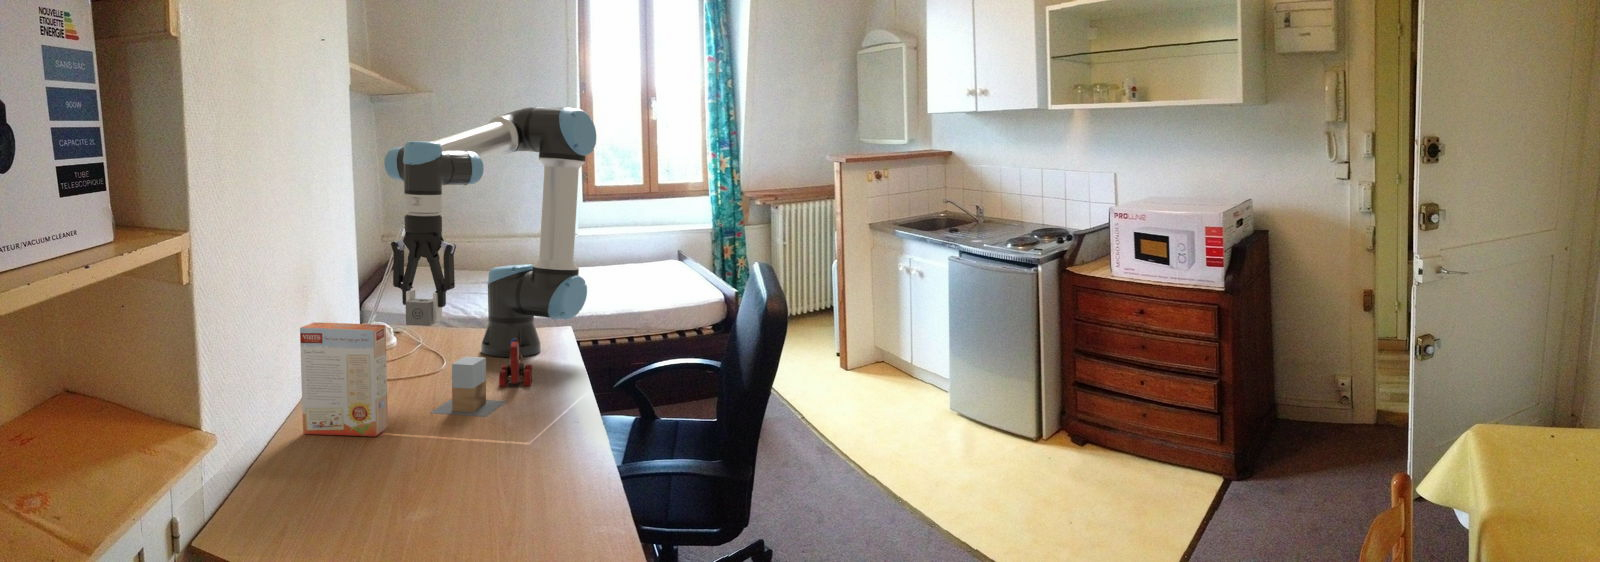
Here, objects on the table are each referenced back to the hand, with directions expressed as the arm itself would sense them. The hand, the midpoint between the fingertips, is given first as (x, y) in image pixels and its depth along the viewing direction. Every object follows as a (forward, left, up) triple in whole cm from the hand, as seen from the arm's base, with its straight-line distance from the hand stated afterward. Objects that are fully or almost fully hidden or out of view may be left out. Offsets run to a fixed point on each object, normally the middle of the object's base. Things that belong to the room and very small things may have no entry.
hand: (424, 320), depth 213 cm
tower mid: (+7, +13, -11) cm, 19 cm away
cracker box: (+27, -3, -17) cm, 32 cm away
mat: (+7, +13, -17) cm, 23 cm away
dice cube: (+1, 0, -1) cm, 1 cm away
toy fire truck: (-15, +15, -17) cm, 27 cm away
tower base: (+7, +13, -16) cm, 22 cm away
